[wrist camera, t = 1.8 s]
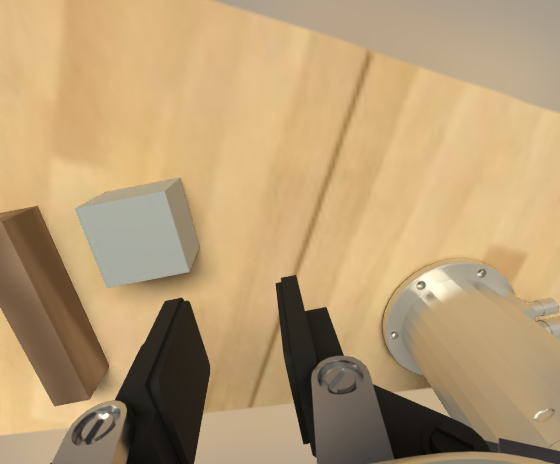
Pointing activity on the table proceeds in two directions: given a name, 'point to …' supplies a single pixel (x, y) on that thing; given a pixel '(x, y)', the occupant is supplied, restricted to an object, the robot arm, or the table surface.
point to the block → (140, 232)
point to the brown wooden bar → (46, 310)
